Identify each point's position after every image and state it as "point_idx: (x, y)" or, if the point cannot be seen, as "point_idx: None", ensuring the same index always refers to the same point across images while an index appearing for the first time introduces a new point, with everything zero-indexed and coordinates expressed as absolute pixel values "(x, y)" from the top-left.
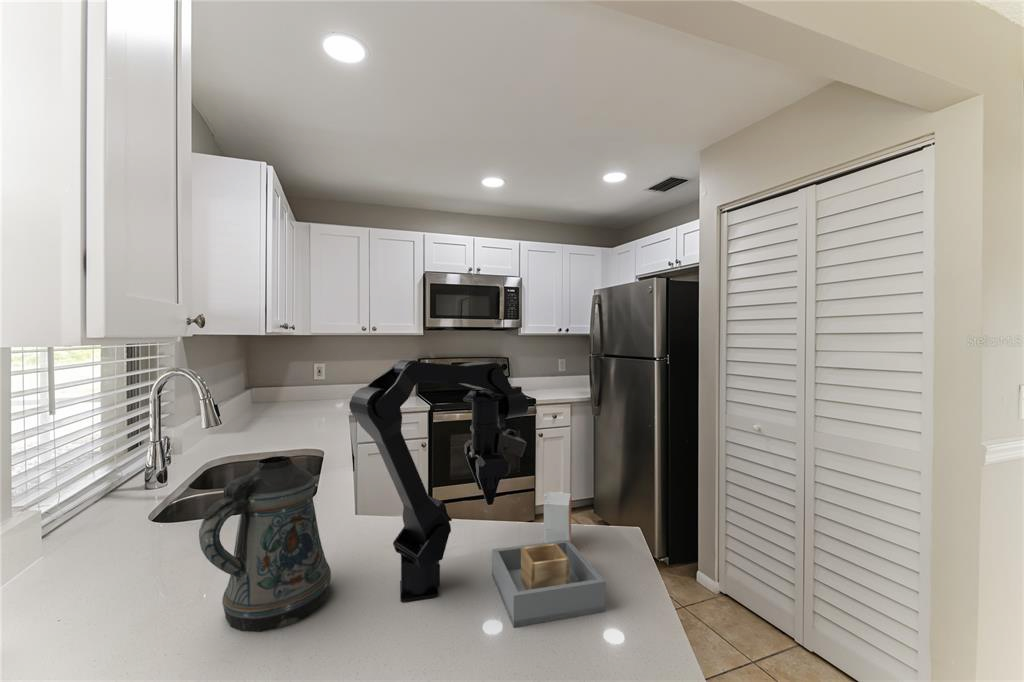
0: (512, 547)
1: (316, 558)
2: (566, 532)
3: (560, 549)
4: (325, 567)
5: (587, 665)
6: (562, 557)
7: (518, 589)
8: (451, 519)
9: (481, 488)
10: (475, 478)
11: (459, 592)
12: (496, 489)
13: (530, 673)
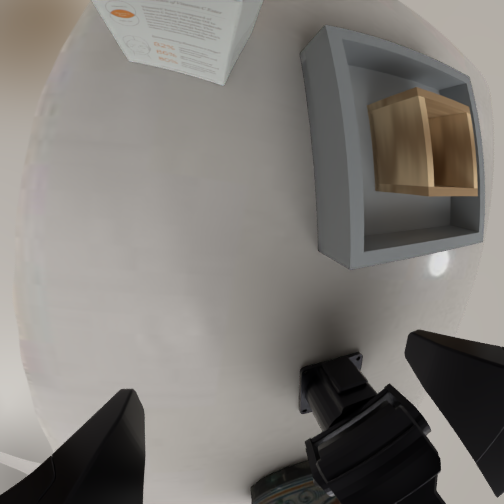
0: (353, 202)
1: (337, 502)
2: (260, 7)
3: (441, 97)
4: (317, 490)
5: (489, 165)
6: (455, 110)
7: (402, 205)
8: (416, 426)
9: (138, 404)
10: (142, 487)
11: (358, 318)
12: (500, 348)
13: (486, 228)
